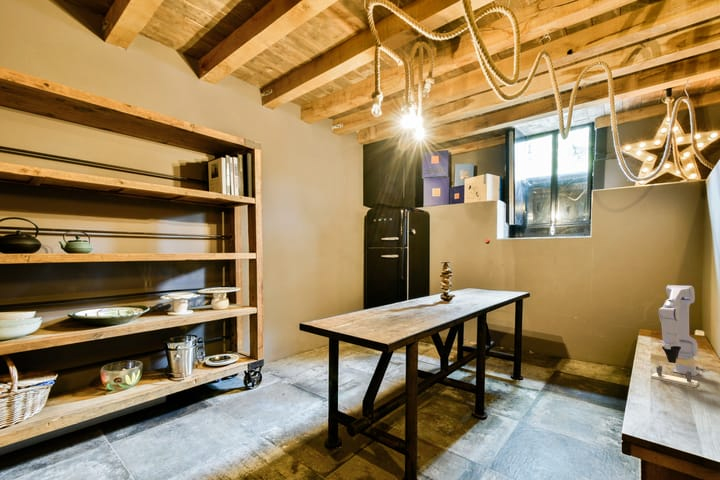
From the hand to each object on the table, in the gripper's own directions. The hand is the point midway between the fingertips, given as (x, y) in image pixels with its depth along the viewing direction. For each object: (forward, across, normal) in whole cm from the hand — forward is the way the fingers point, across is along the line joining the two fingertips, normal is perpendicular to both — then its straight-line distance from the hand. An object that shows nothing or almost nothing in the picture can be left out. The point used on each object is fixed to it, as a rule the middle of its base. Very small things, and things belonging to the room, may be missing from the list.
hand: (672, 362), depth 151 cm
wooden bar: (0, 0, 0) cm, 0 cm away
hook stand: (+9, 0, 0) cm, 9 cm away
